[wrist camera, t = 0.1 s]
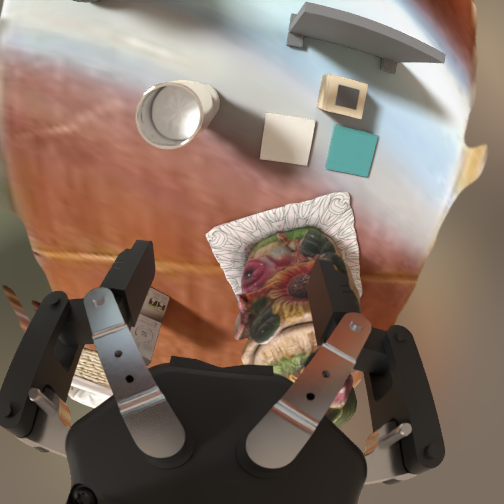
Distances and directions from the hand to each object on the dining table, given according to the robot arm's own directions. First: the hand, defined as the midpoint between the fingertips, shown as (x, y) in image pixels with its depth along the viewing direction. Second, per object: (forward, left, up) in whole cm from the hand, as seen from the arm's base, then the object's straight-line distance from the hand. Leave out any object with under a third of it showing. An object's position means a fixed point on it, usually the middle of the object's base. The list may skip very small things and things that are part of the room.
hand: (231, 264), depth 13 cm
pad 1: (-1, +6, -29) cm, 30 cm away
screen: (-17, +12, -29) cm, 36 cm away
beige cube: (-9, +12, -29) cm, 33 cm away
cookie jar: (+21, +11, -30) cm, 38 cm away
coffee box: (+35, -17, -29) cm, 49 cm away
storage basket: (+68, -37, -30) cm, 83 cm away
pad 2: (-1, +16, -29) cm, 33 cm away
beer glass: (-5, -7, -29) cm, 31 cm away
